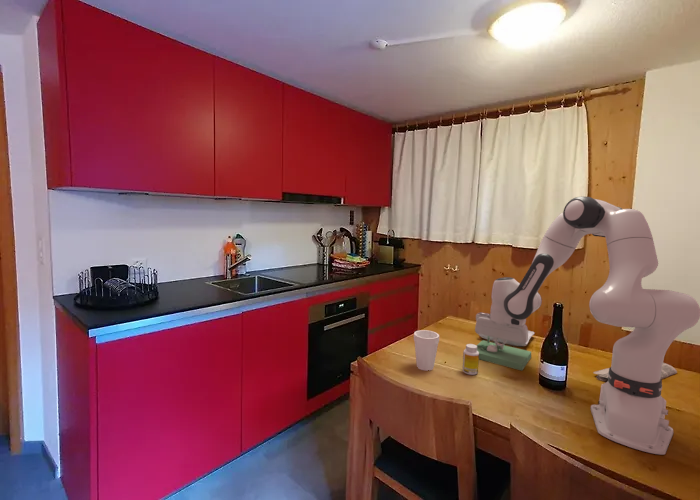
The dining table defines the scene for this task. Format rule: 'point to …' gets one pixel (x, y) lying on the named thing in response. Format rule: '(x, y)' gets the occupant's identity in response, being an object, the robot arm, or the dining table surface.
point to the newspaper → (665, 372)
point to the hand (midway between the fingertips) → (499, 348)
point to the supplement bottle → (470, 359)
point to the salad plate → (510, 341)
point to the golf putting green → (504, 355)
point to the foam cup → (426, 348)
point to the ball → (491, 348)
